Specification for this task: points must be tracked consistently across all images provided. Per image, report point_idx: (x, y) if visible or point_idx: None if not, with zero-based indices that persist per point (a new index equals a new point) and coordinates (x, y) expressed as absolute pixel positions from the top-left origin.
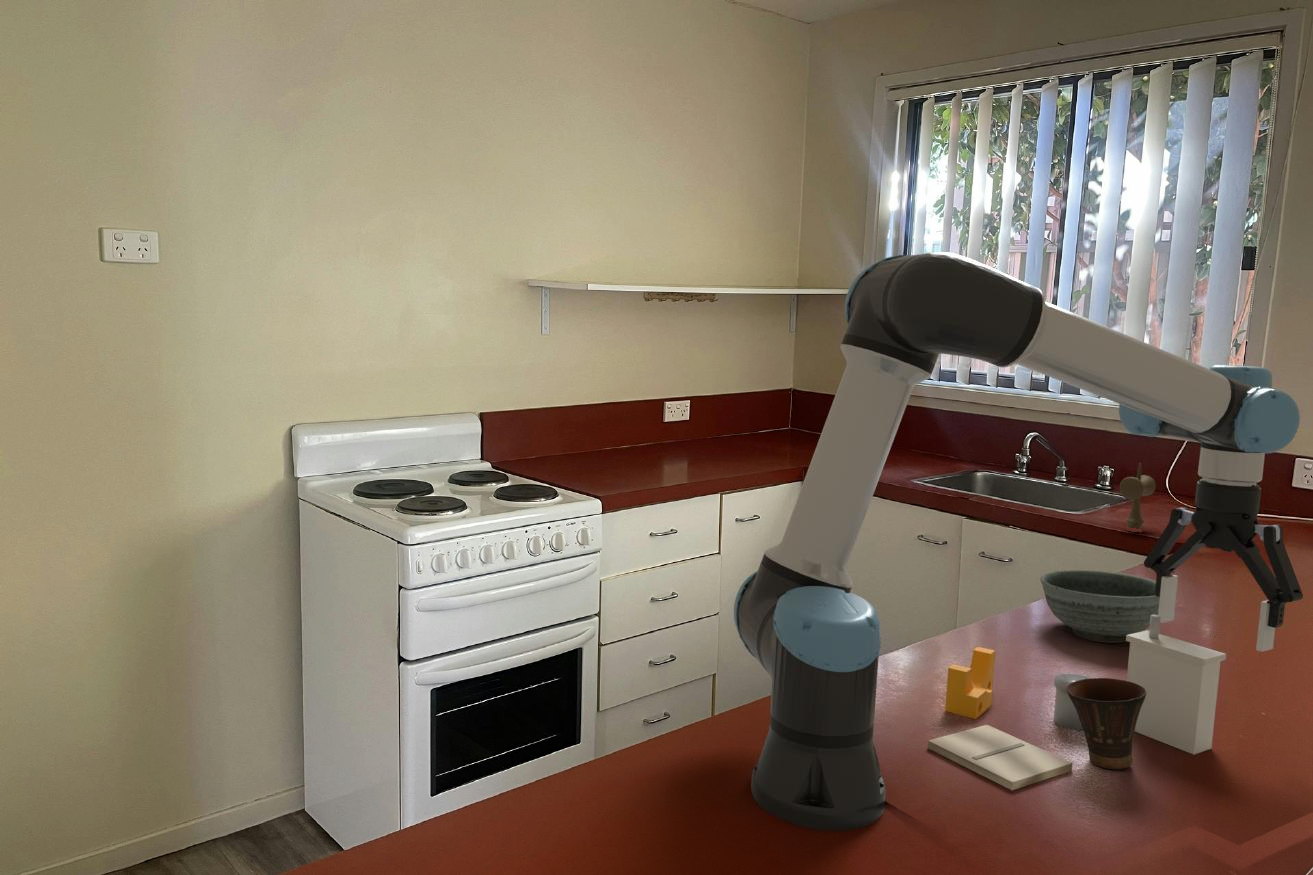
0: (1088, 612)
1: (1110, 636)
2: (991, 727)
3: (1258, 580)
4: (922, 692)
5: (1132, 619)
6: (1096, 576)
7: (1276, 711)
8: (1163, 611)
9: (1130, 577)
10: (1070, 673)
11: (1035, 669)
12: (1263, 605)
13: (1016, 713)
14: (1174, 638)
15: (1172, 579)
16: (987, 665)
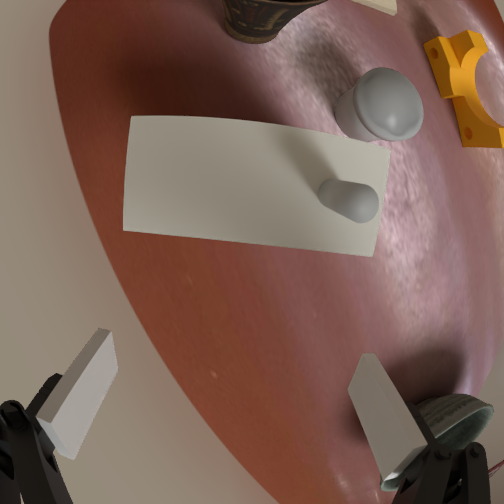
0: (446, 408)
1: None
2: (389, 7)
3: (42, 487)
4: (485, 86)
5: None
6: None
7: (208, 389)
8: (373, 372)
9: None
10: (415, 133)
11: (458, 273)
12: (48, 412)
13: None
14: (287, 246)
15: (394, 460)
16: (487, 124)
